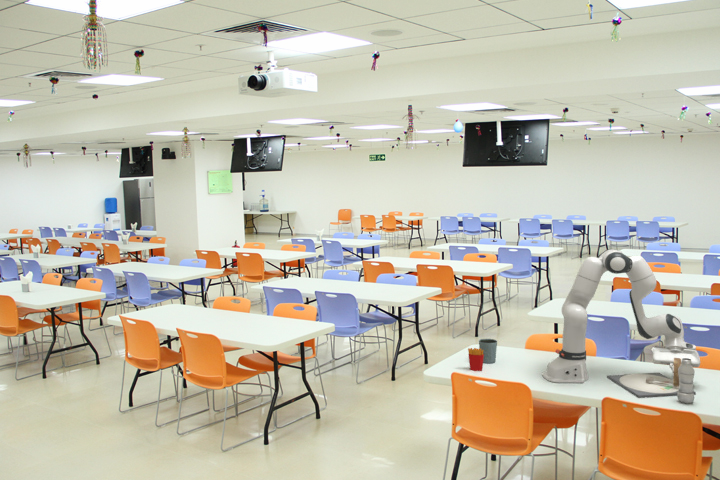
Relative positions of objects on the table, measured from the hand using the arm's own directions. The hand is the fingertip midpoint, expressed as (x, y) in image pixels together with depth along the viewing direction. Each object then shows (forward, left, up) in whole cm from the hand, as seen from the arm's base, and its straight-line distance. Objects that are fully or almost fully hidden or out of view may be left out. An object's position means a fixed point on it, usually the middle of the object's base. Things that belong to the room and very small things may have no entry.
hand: (676, 372), depth 271 cm
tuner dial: (-9, +7, -8) cm, 14 cm away
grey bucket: (-74, +57, -9) cm, 94 cm away
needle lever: (-5, +3, -7) cm, 9 cm away
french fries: (-85, +44, -9) cm, 96 cm away
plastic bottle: (-6, -15, -9) cm, 18 cm away
